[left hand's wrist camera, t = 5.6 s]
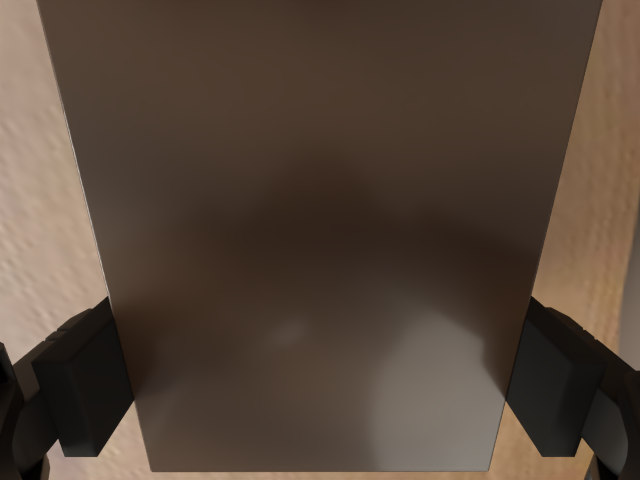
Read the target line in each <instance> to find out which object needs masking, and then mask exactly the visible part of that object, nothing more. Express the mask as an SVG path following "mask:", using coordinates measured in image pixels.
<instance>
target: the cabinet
mask: <svg viewBox="0 0 640 480" xmlns="http://www.w3.org/2000/svg"><path fill="white" fill-rule="evenodd" d="M36 1H37V6H38V10H39V14H40V18H41V22H42V26H43V30H44V34H45V38H46V42H47V47H48V51H49V55H50V59H51V63H52V67H53V71H54V75H55V79H56V84H57V88H58V92H59V96H60V100H61V104H62V108H63V112H64V116H65V120H66V125H67V129H68V133H69V137H70V141H71V145H72V149H73V153H74V157H75V161H76V166H77V170H78V174H79V178H80V182H81V186H82V190H83V194H84V198H85V203H86V207H87V211H88V215H89V219H90V223H91V227H92V231H93V235H94V239H95V244H96V248H97V252H98V256H99V260H100V264H101V268H102V272H103V276H104V280H105V285H106V289H107V293H108V297H109V301H110V305H111V309H112V313H113V317H114V322H115V326H116V330H117V334H118V338H119V342H120V346H121V350H122V354H123V358H124V363H125V367H126V371H127V375H128V379H129V383H130V387H131V391H132V395H133V399H134V404H135V408H136V412H137V416H138V420H139V424H140V428H141V432H142V436H143V441H144V445H145V449H146V453H147V457H148V461H149V465H150V469H151V471H152V472H487V471H489V467H490V463H491V459H492V455H493V451H494V447H495V442H496V438H497V434H498V430H499V426H500V422H501V418H502V414H503V409H504V405H505V401H506V397H507V393H508V389H509V385H510V381H511V376H512V372H513V368H514V364H515V360H516V356H517V352H518V348H519V343H520V339H521V335H522V331H523V327H524V323H525V319H526V315H527V310H528V306H529V302H530V298H531V294H532V290H533V286H534V282H535V277H536V273H537V269H538V265H539V261H540V257H541V253H542V249H543V244H544V240H545V236H546V232H547V228H548V224H549V220H550V215H551V211H552V207H553V203H554V199H555V195H556V191H557V187H558V182H559V178H560V174H561V170H562V166H563V162H564V158H565V154H566V149H567V145H568V141H569V137H570V133H571V129H572V125H573V121H574V116H575V112H576V108H577V104H578V100H579V96H580V92H581V88H582V83H583V79H584V75H585V71H586V67H587V63H588V59H589V55H590V50H591V46H592V42H593V38H594V34H595V30H596V26H597V22H598V17H599V13H600V9H601V5H602V1H603V0H36Z"/></svg>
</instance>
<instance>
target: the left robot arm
mask: <svg viewBox="0 0 640 480" xmlns="http://www.w3.org/2000/svg"><path fill="white" fill-rule="evenodd" d="M133 401H134V399H133V395H132V391H131V387H130V383H129V379H128V375H127V371H126V367H125V363H124V358H123V354H122V350H121V346H120V342H119V338H118V334H117V330H116V326H115V322H114V317H113V313H112V309H111V305H110V301H109V297H108V296H107V297H106V298H105V299H104V300H103V301H101V302H100V303H99V304H98V305H97V306H96V307H94V308H93V309H87V310H85V311H83V312H81V313H79V314H78V315H76V316H74V317H72V318H70V319H69V320H68V321H66V322H65V323H64V324H63V325H62V326H60V327H59V328H58V329H57V331H54V332H53V333H52V334H51V335H49V336H48V337H47V338H46V340H45V341H42V342H41V343H40V344H38V345H37V346H36V347H35V348H33V349H32V350H31V351H30V352H28V353H27V354H26V355H25V356H24V357H22V358H21V359H20V360H19V361H17V362H16V363H15V364H14V365H13V366H12V364H11V361H10V359H9V356H8V354H7V351H6V349H5V346H4V344H3V343H1V342H0V480H48V479H49V472H50V464H49V460H48V457H47V454H46V453H47V452H48V451H49V449H50V448H51V447H52V446H53V444H54V443H55V442H56V441H57V439H59V442H60V445H61V447H62V450H63V453H64V456H65V457H98V455H99V453H100V452H101V450H102V449H103V447H104V446H105V444H106V443H107V441H108V440H109V438H110V437H111V435H112V433H113V432H114V430H115V429H116V427H117V426H118V424H119V423H120V421H121V420H122V418H123V417H124V415H125V413H126V412H127V410H128V409H129V407H130V406H131V404H132V403H133ZM506 402H507V403H508V405H509V406H510V408H511V409H512V411H513V413H514V414H515V416H516V417H517V419H518V420H519V422H520V423H521V425H522V426H523V428H524V429H525V431H526V433H527V434H528V436H529V437H530V439H531V440H532V442H533V443H534V445H535V446H536V448H537V449H538V451H539V453H540V454H541V456H542V457H575V454H576V452H577V449H578V446H579V443H580V441H581V438H583V439H584V440H585V442H586V443H587V444H588V445H589V447H590V448H591V449H592V450H593V452H594V454H593V457H592V460H591V462H590V465H589V467H588V470H587V472H586V475H585V478H584V480H640V371H635V370H634V369H633V368H632V367H631V366H629V365H628V364H627V363H626V362H624V361H623V360H622V359H621V358H619V357H618V356H617V355H616V354H614V353H613V352H612V351H611V350H610V349H608V348H607V347H606V346H605V345H603V344H602V343H601V342H600V341H598V340H595V339H594V336H592V335H591V334H590V333H589V332H587V331H586V330H583V328H582V327H581V326H580V325H579V324H578V323H576V322H575V321H574V320H573V319H571V318H570V317H569V316H567V315H565V314H563V313H561V312H559V311H557V310H555V309H553V308H551V307H544V306H543V305H542V304H541V303H539V302H538V301H537V300H536V299H535V298H534V297H532V296H531V298H530V302H529V306H528V310H527V315H526V319H525V323H524V327H523V331H522V335H521V339H520V343H519V348H518V352H517V356H516V360H515V364H514V368H513V372H512V376H511V381H510V385H509V389H508V393H507V397H506Z"/></svg>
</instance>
